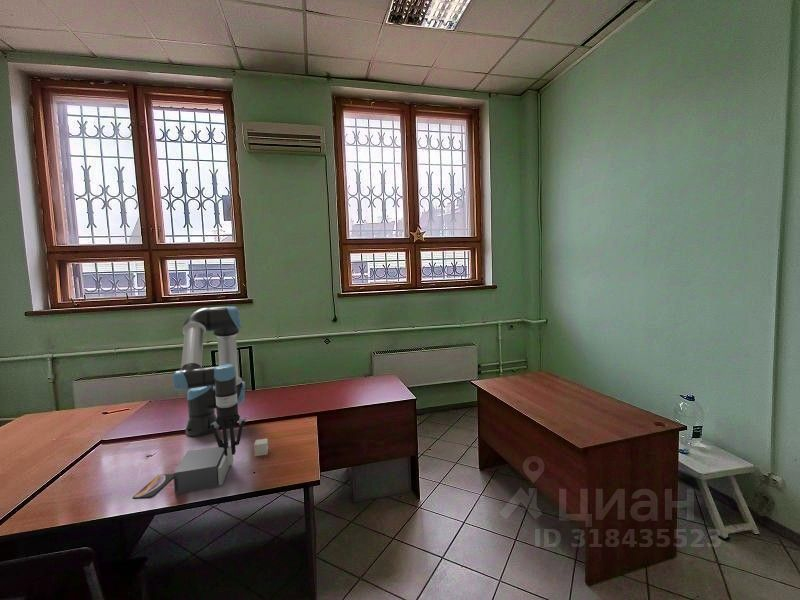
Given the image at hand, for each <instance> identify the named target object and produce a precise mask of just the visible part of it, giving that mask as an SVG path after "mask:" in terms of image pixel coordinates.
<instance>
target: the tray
mask: <svg viewBox="0 0 800 600" xmlns="http://www.w3.org/2000/svg"><path fill="white" fill-rule="evenodd" d="M219 463H220V464H219V466H218V482H219V485H218V486H223V484H224V482H225V478H226V476H227V474H228V471H229V468H230V466H231V464H229V465H228V456H225V454H224V455H223V457H222V460H220V462H219Z"/></svg>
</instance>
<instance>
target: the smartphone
mask: <svg viewBox="0 0 800 600" xmlns="http://www.w3.org/2000/svg"><path fill="white" fill-rule="evenodd" d="M172 480H174V474H173V473H167V474H158V475H157V476H155V477H154V478H153V479H151V481H150V482H149V483H147V484H146V485H145V486H143V488H141V490H139V491H138V492H136V494H134V496H132V499H133V500H137V499H139V500H142V499H152V498H154V497H155V496H156V495H157V494H158V493H159V492H161V491H162V489H164V488H165V487H166V486H168V484H169V483H170V482H171V481H172Z"/></svg>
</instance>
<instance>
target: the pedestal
mask: <svg viewBox="0 0 800 600" xmlns="http://www.w3.org/2000/svg"><path fill="white" fill-rule="evenodd" d="M253 448H254V457H258V456H259V457H260V456H265V455H268V453H269V441H268V438H260V439H255V441H254V446H253Z"/></svg>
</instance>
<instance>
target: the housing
mask: <svg viewBox="0 0 800 600" xmlns="http://www.w3.org/2000/svg"><path fill="white" fill-rule="evenodd" d="M223 455H224V448H223V447H221V448H219V446H218V445H217V446H213V447H211V446H210V447H206V448H199V449H193V450H187V452H186V453H185V455H184V456H183V458H182V459H181V461H179V464H178V465H177V467H176V468H175V469H174V472H173V473H172V474H174V478H173V487H174V495H180V494H186V493H191V492H197V491H203V490H207V489H213V488H218V487H219V486H220V485H219V482H218V469H217V467H218V465H219V462H220V460H222V457H223Z"/></svg>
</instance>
